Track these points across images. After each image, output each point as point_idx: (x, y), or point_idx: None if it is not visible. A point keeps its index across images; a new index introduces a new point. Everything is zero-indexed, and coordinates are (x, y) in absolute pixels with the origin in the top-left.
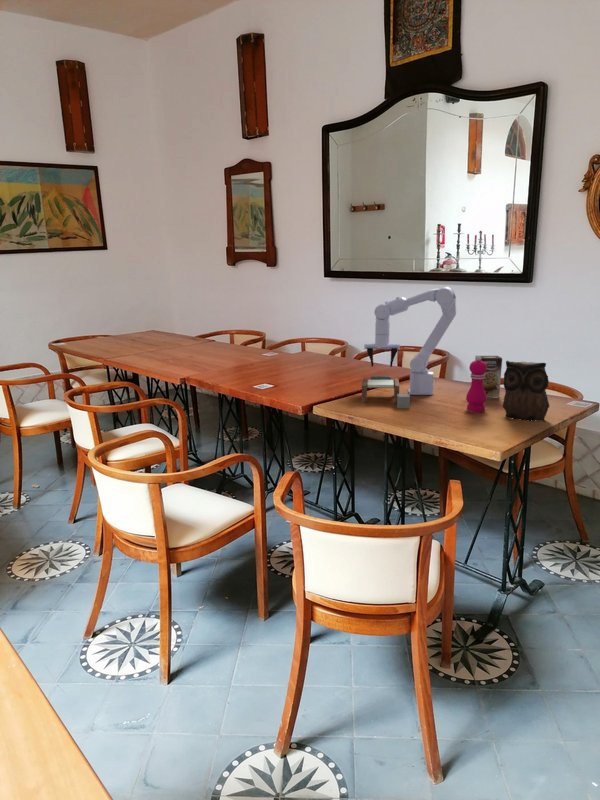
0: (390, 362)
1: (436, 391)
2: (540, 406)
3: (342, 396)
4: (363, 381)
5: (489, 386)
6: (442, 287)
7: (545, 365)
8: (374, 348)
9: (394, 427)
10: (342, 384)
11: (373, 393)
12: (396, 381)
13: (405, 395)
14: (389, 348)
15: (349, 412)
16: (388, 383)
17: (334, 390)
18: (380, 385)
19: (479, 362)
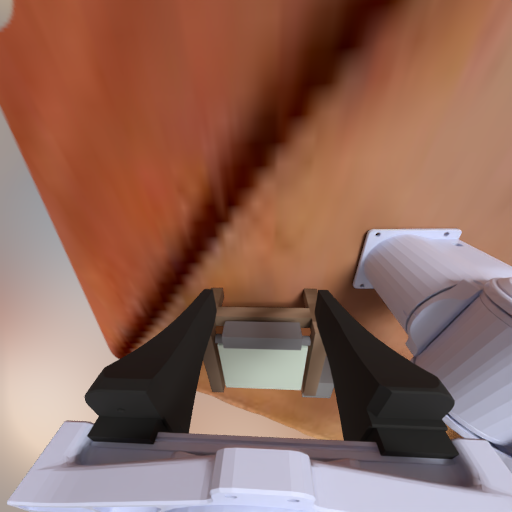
0: (323, 320)
1: (471, 238)
2: None
3: (159, 301)
4: (207, 362)
5: None
6: None
7: None
8: (181, 445)
9: (284, 424)
10: (81, 133)
11: (240, 271)
12: (315, 364)
13: (322, 391)
14: (348, 455)
15: (210, 385)
16: (286, 379)
17: (104, 241)
18: (262, 386)
19: None
